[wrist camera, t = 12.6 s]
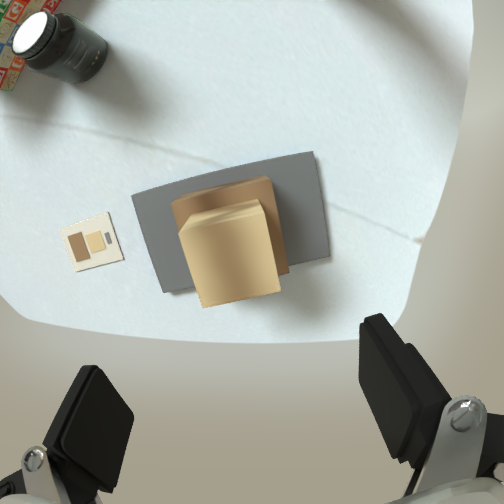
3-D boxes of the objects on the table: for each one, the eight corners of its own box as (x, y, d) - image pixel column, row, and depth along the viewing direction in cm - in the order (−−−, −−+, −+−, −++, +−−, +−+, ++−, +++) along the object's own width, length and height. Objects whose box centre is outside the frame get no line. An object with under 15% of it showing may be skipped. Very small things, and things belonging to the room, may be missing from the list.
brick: (265, 175, 29) (270, 179, 24) (281, 254, 32) (289, 272, 27) (181, 195, 29) (170, 203, 24) (203, 272, 32) (198, 292, 27)
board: (310, 151, 29) (312, 151, 28) (326, 252, 33) (329, 256, 32) (134, 194, 30) (131, 195, 28) (165, 288, 34) (163, 293, 32)
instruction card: (108, 211, 30) (107, 212, 30) (123, 258, 32) (122, 259, 32) (60, 229, 30) (59, 229, 30) (75, 271, 32) (74, 272, 32)
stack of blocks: (61, -31, 16) (24, -61, 4) (87, -31, 17) (50, -68, 6) (-7, 86, 22) (-61, 81, 10) (12, 92, 23) (-47, 86, 11)
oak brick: (257, 198, 24) (264, 212, 19) (271, 261, 26) (281, 291, 21) (191, 214, 25) (178, 233, 19) (209, 275, 27) (202, 308, 21)
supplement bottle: (104, 27, 22) (56, -11, 11) (113, 67, 24) (59, 36, 13) (60, 53, 22) (4, 30, 11) (67, 94, 25) (4, 80, 13)
